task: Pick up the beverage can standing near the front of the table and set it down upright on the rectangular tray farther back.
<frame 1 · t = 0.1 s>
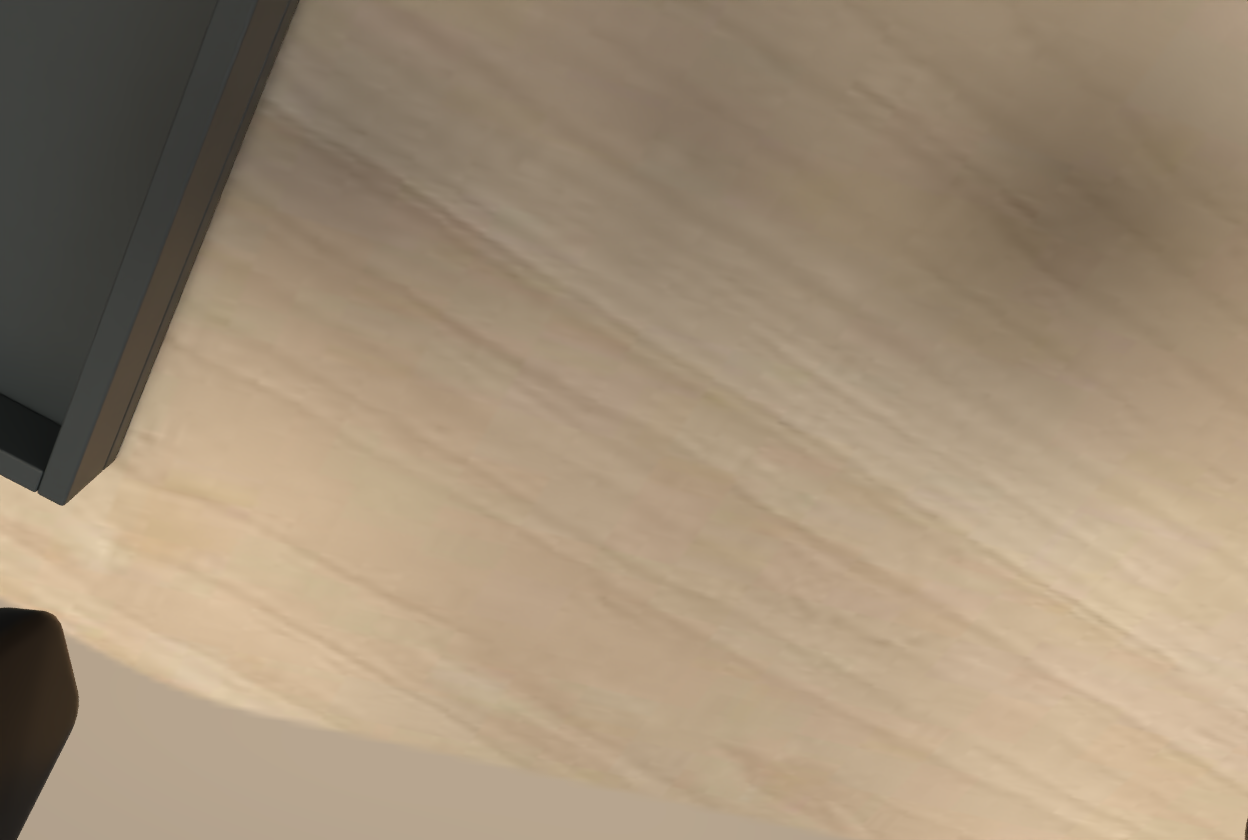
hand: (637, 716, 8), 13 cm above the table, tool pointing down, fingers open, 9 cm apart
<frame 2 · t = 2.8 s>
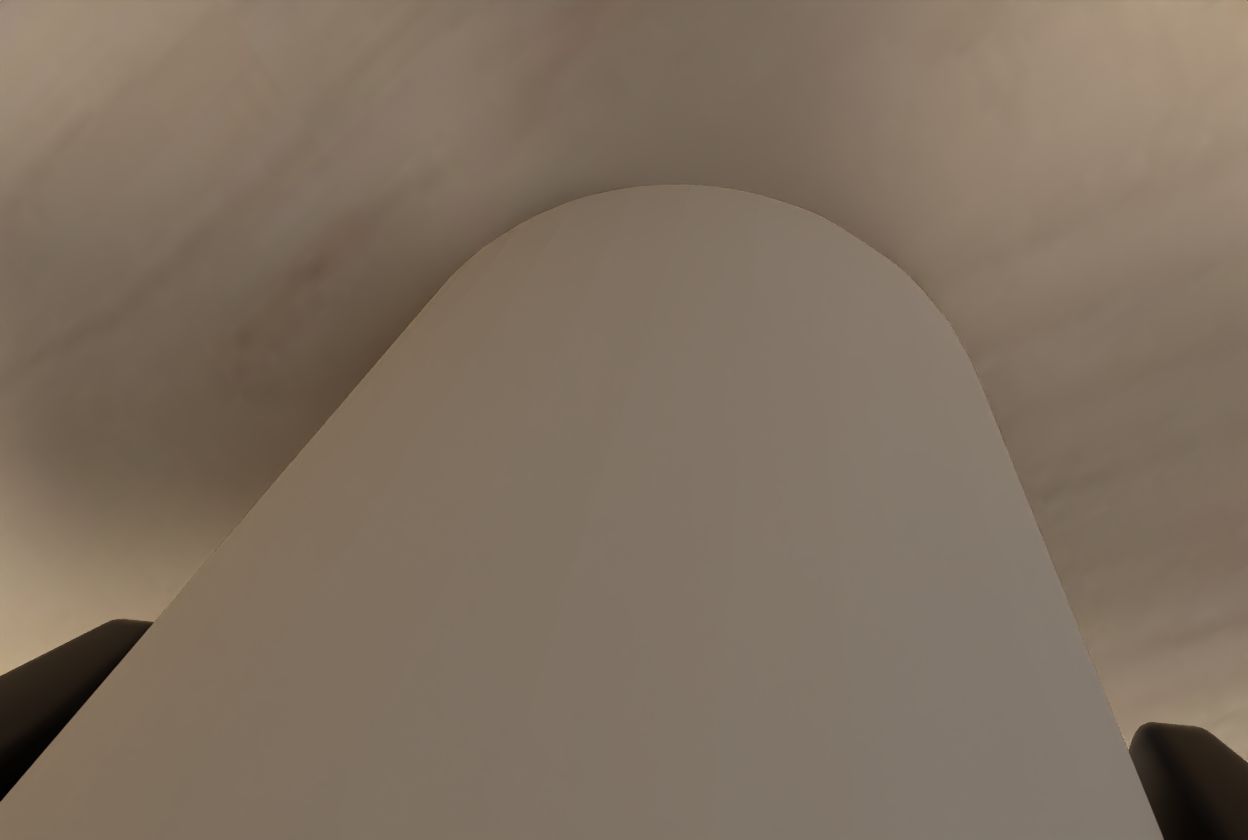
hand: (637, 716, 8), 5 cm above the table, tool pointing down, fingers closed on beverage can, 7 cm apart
beverage can: (686, 443, 13), on the table, touching gripper
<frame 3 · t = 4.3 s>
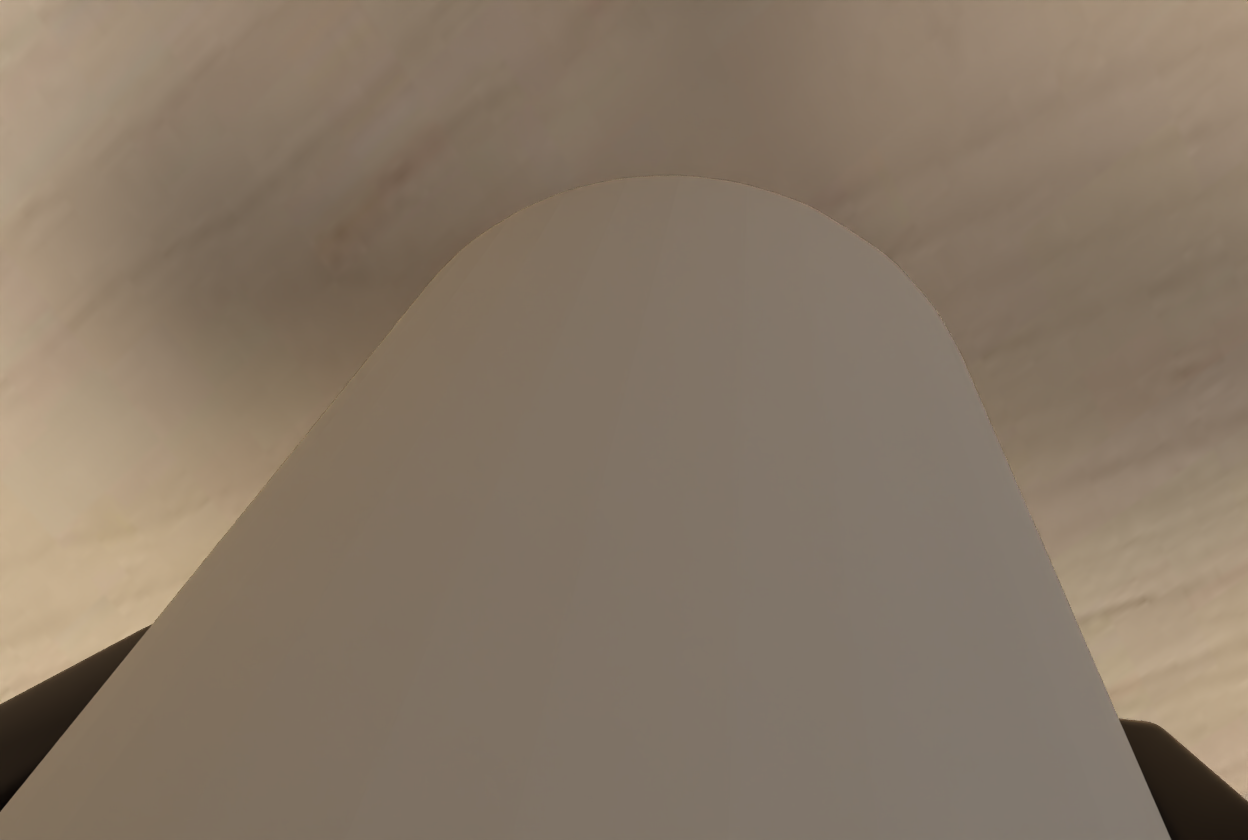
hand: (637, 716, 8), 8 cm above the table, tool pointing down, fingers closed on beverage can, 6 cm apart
beverage can: (676, 433, 13), point 3 cm above the table, touching gripper
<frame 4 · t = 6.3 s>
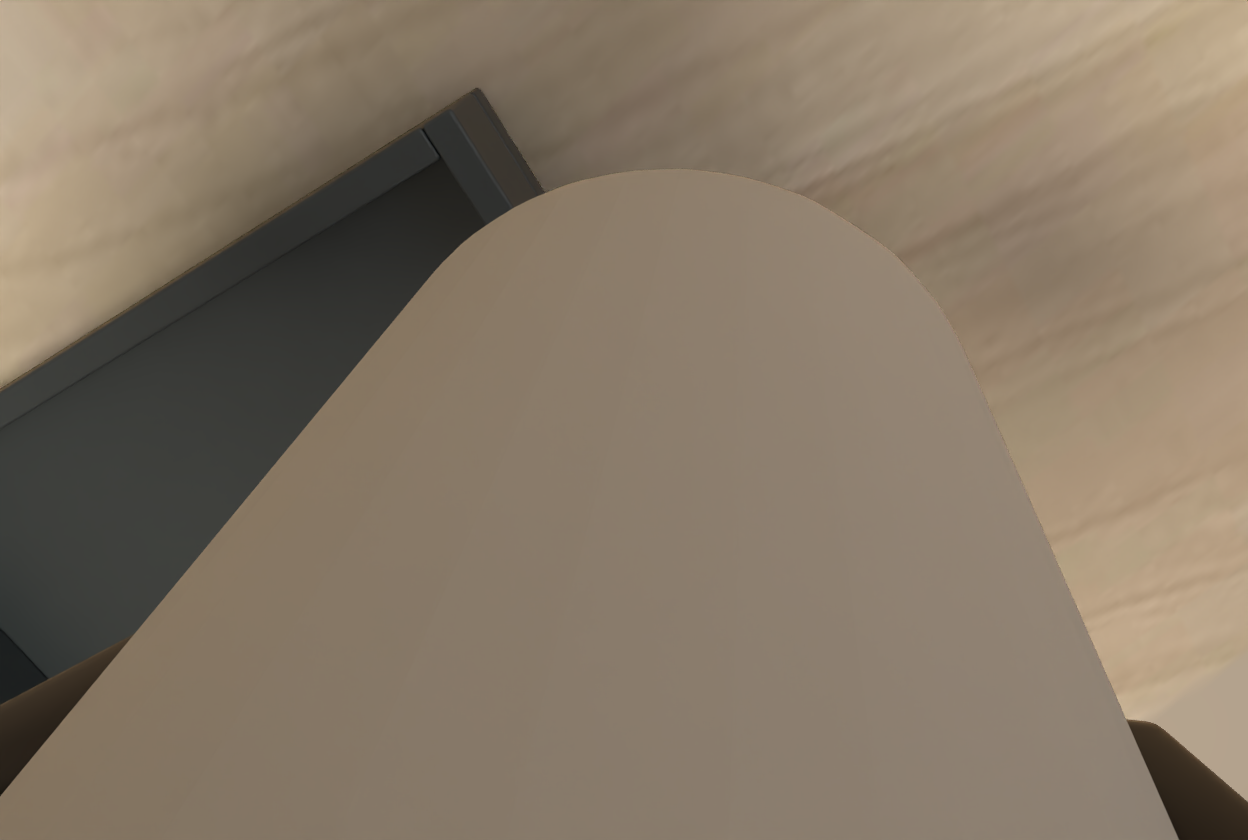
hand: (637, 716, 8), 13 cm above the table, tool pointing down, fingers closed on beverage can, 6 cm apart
rectangular tray: (328, 556, 24), on the table
beverage can: (677, 429, 13), point 8 cm above the table, touching gripper
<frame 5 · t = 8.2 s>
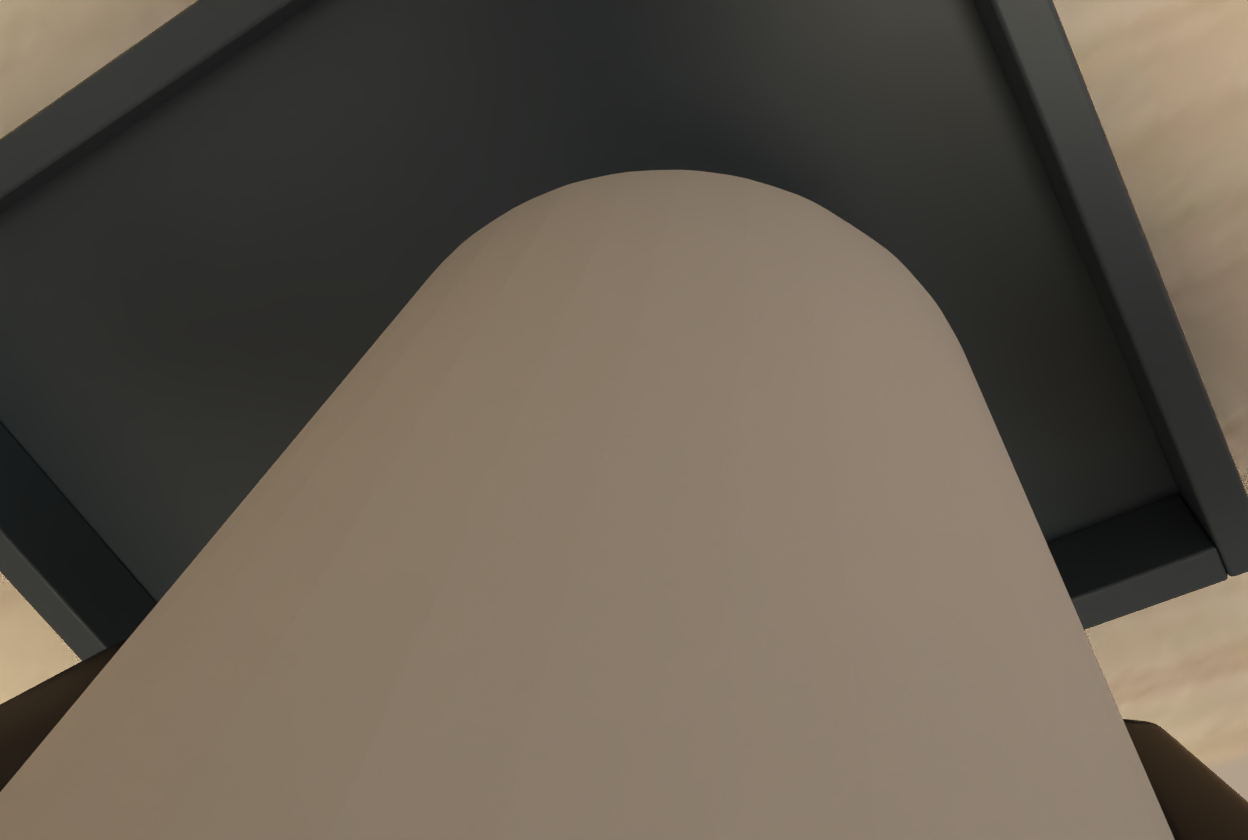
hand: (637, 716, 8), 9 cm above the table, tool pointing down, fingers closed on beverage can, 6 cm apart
rectangular tray: (523, 375, 17), on the table
beverage can: (676, 429, 13), point 4 cm above the table, touching gripper
when the fingers open (5 cm above the table, at t = 9.7 s): beverage can stays where it is, resting on rectangular tray.
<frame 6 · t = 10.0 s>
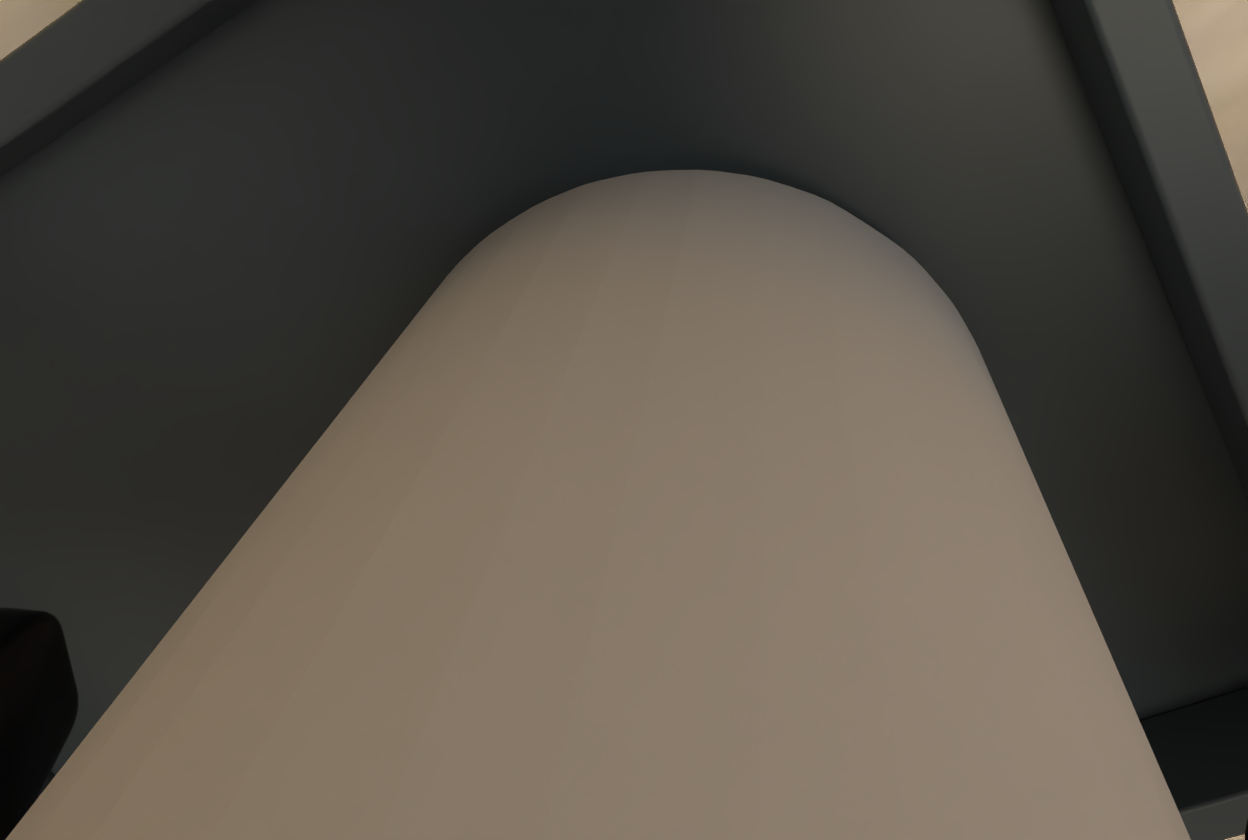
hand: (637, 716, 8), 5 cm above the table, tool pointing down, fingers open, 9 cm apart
rectangular tray: (478, 502, 14), on the table
beverage can: (691, 427, 13), resting on rectangular tray
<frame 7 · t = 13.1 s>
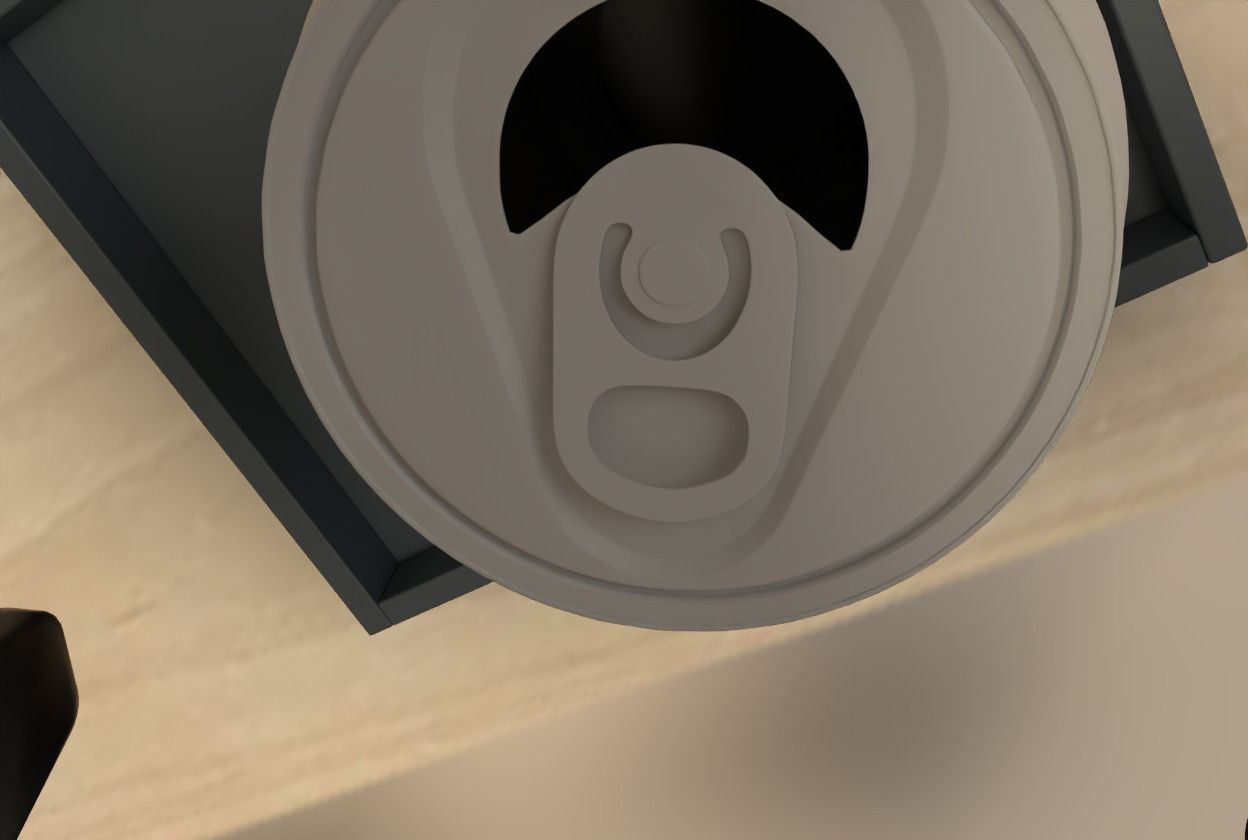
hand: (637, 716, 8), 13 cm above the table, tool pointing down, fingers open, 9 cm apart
rectangular tray: (575, 117, 19), on the table
beverage can: (730, 38, 18), resting on rectangular tray
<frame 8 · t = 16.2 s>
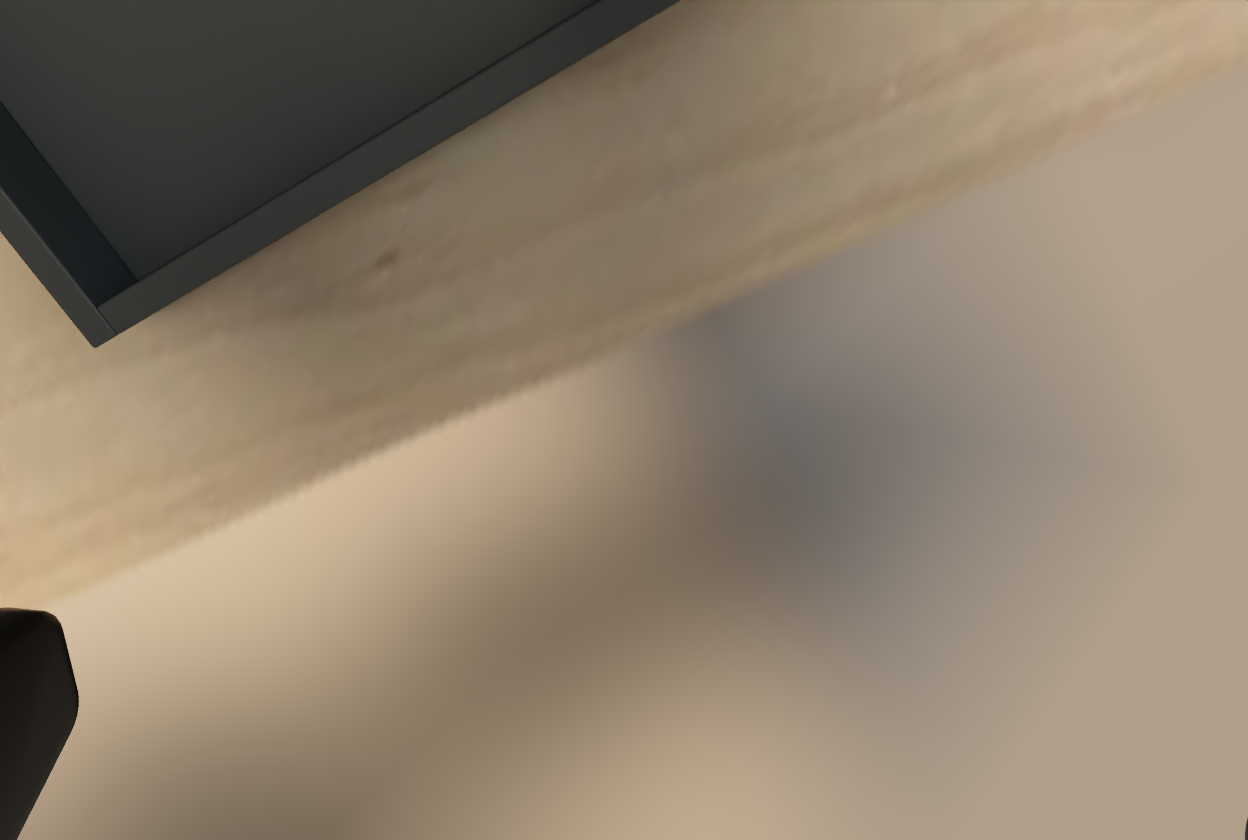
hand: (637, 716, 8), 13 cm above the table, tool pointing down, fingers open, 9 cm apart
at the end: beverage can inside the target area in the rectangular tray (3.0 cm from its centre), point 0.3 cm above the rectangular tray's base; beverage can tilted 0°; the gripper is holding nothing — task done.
